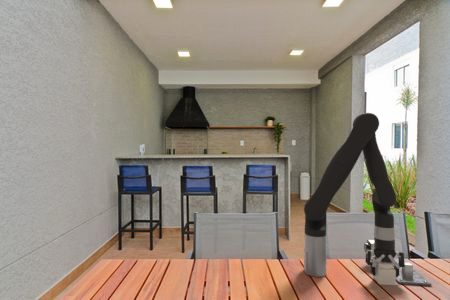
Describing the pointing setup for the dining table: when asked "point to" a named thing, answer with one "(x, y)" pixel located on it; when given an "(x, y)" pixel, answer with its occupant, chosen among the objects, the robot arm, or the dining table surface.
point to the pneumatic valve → (369, 246)
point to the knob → (385, 273)
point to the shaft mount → (411, 276)
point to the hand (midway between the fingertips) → (384, 275)
